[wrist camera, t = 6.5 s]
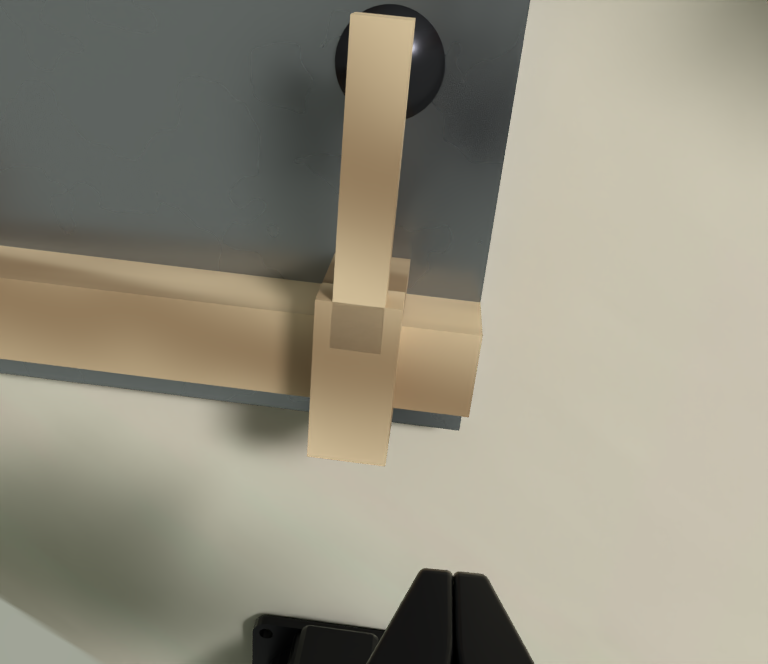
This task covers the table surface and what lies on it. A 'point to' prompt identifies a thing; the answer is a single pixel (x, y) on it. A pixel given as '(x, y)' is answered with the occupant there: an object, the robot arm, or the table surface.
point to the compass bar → (276, 297)
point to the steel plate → (244, 143)
